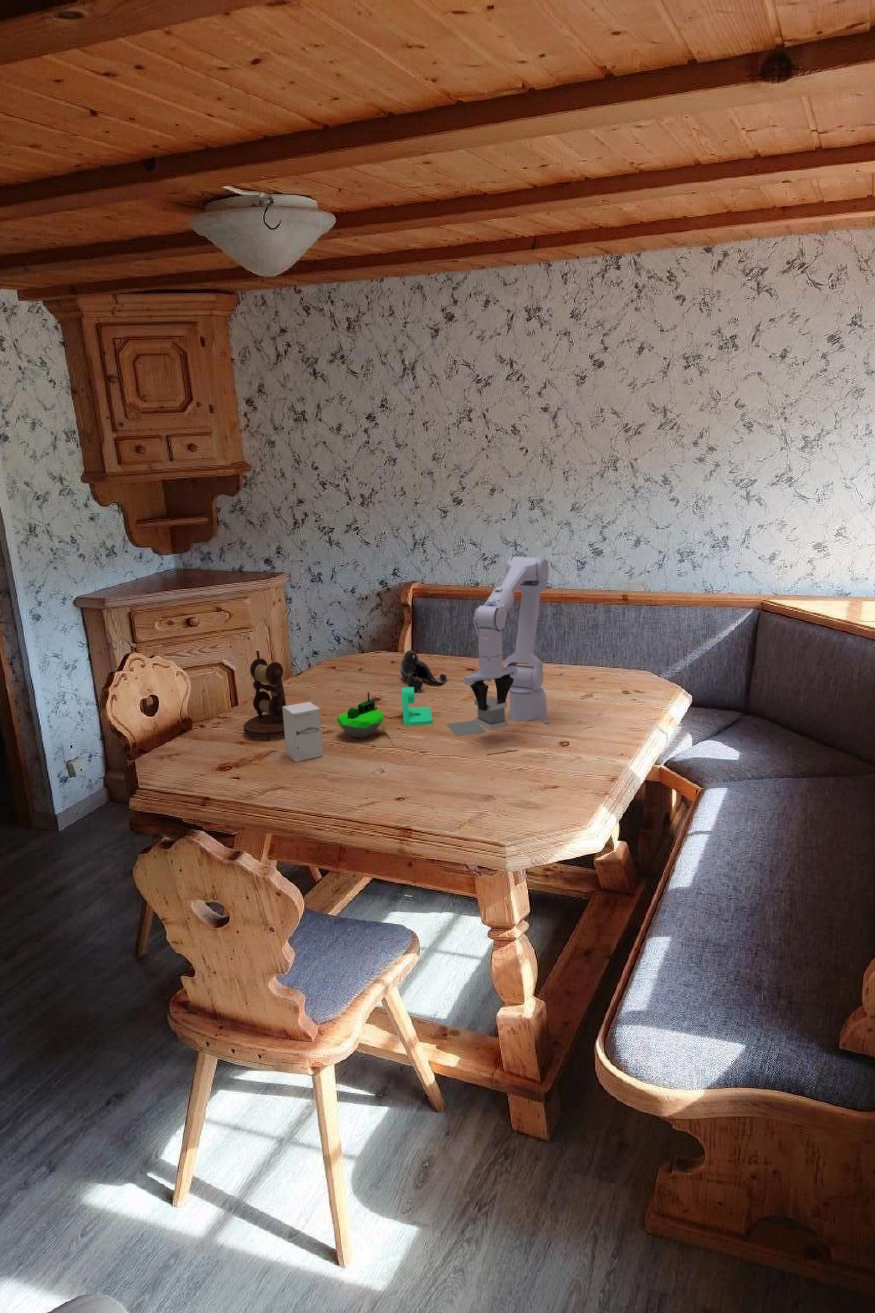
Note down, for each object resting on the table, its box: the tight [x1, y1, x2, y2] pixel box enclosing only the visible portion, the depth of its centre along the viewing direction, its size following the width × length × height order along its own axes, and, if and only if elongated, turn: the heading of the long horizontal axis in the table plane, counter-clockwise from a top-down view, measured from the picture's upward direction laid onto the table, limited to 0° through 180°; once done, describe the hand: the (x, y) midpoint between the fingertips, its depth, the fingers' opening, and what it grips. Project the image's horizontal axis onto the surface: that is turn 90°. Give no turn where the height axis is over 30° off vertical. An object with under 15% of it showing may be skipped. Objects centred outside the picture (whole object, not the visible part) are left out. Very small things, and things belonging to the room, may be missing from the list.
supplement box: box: [282, 701, 324, 763], centre depth 228 cm, size 7×7×13 cm
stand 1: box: [445, 719, 487, 737], centre depth 240 cm, size 8×10×2 cm
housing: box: [474, 695, 509, 730], centre depth 229 cm, size 5×7×6 cm
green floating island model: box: [336, 691, 384, 739], centre depth 241 cm, size 12×12×11 cm
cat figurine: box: [399, 650, 447, 694], centre depth 285 cm, size 10×14×18 cm
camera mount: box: [401, 686, 433, 727], centre depth 249 cm, size 12×8×10 cm, turn 4°
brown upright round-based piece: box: [242, 657, 287, 742], centre depth 245 cm, size 15×15×20 cm
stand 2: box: [474, 732, 519, 756], centre depth 230 cm, size 8×10×2 cm
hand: (492, 707), depth 228 cm, fingers closed on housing, 5 cm apart
